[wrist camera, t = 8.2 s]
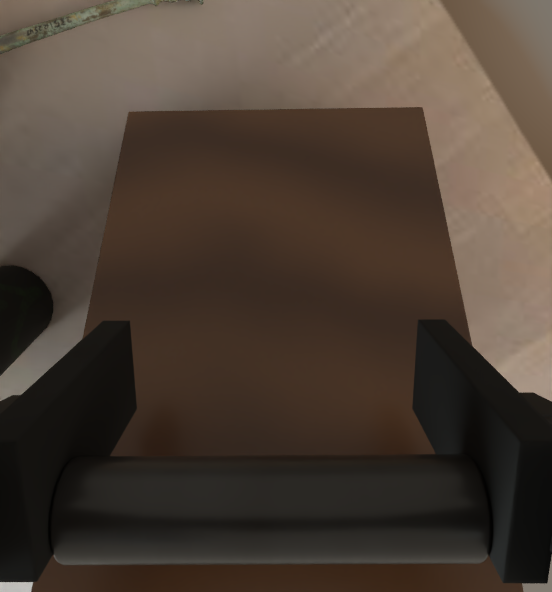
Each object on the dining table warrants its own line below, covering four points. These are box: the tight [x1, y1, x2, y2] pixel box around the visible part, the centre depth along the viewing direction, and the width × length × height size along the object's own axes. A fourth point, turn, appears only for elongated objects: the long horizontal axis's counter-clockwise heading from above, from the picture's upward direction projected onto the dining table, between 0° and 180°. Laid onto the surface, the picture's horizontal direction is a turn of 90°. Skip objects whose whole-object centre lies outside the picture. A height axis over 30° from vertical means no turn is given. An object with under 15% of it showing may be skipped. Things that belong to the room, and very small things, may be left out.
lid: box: [31, 107, 523, 592], centre depth 17 cm, size 21×14×7 cm
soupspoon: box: [0, 0, 203, 54], centre depth 32 cm, size 22×3×7 cm
